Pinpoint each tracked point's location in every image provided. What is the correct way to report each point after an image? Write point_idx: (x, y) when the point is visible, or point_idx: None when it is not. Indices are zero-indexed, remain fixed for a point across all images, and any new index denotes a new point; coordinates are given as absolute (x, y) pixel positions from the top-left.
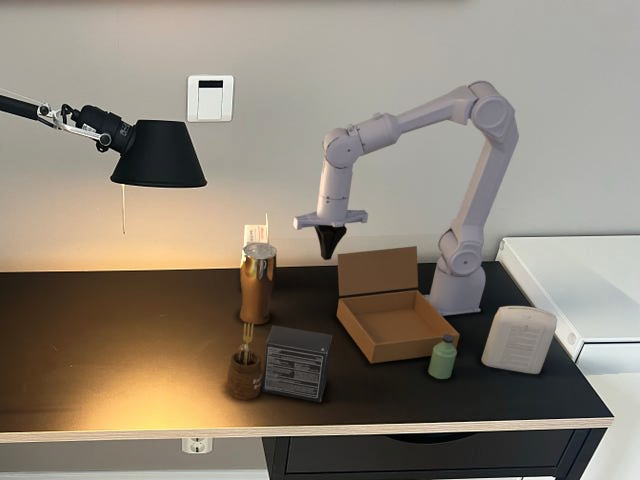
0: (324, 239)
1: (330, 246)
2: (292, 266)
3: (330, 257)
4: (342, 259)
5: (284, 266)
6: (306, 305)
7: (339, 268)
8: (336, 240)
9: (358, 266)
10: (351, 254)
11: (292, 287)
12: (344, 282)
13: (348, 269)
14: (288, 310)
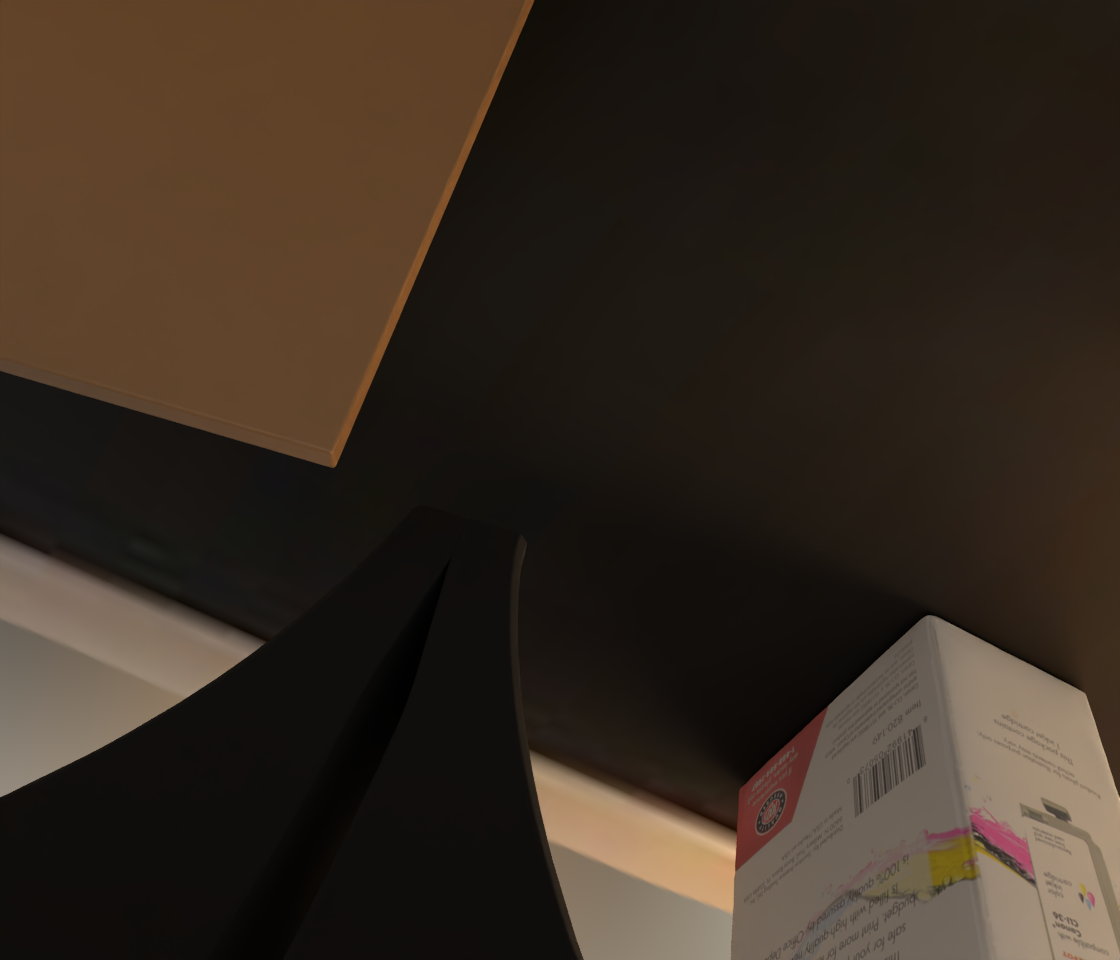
0: (550, 928)
1: (372, 702)
2: None
3: (421, 526)
4: (282, 327)
5: (538, 765)
6: (762, 253)
7: (417, 213)
8: (221, 767)
9: (34, 103)
10: (41, 335)
11: (671, 546)
12: (420, 7)
13: (253, 131)
14: (1001, 263)
